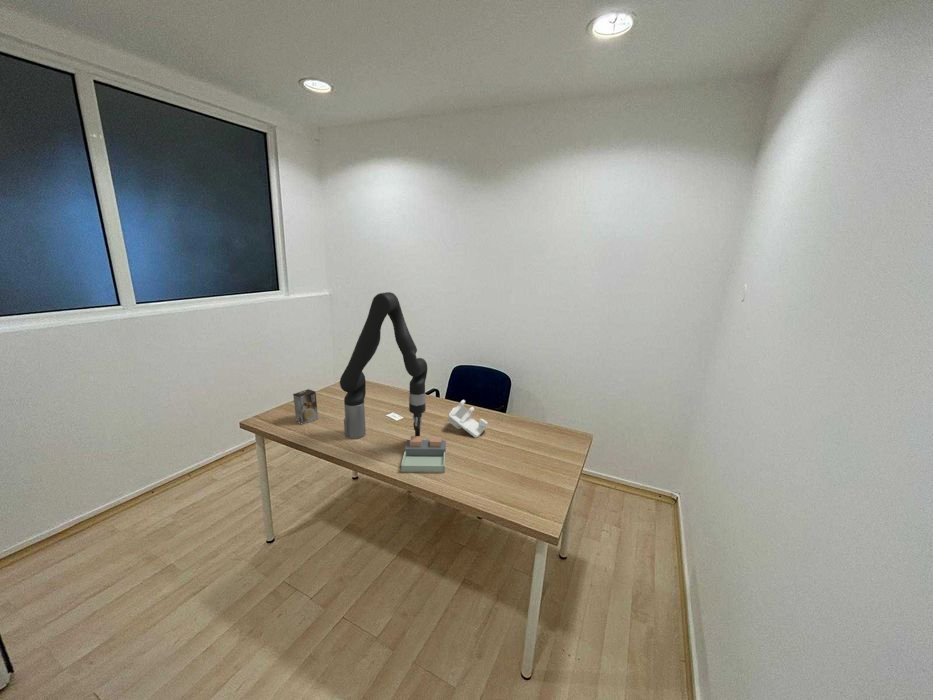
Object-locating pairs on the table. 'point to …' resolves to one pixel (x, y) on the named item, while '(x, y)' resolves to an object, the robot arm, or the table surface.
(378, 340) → the robot arm
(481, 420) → the tape dispenser
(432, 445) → the tile right
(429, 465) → the tray
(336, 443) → the table surface
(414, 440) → the tile left
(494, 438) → the table surface
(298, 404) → the coffee box
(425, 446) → the grey flat block
